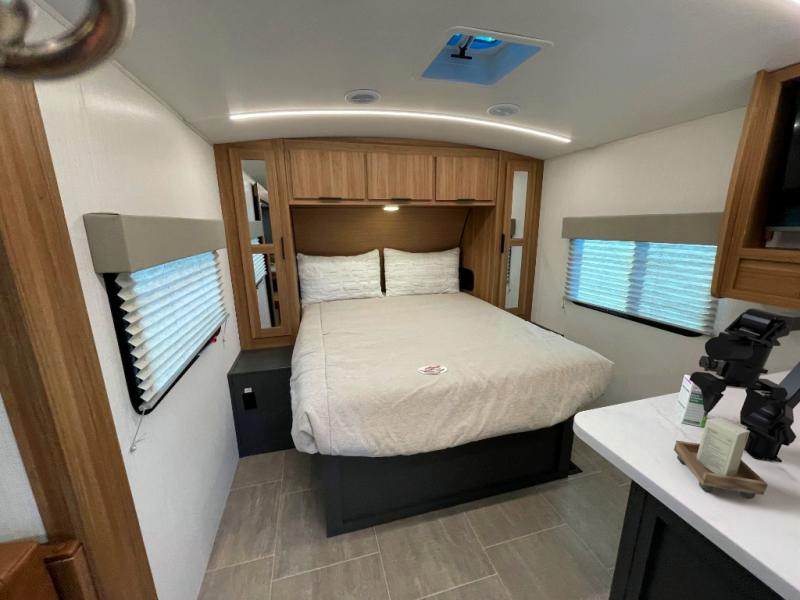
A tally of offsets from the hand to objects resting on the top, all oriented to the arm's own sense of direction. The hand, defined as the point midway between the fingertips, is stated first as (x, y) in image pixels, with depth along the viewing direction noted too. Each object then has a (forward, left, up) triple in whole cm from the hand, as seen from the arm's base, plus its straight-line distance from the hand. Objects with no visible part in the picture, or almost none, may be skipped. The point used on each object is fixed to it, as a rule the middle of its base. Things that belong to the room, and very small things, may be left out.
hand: (724, 413), depth 83 cm
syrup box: (-4, -17, -13) cm, 22 cm away
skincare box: (+6, +10, -10) cm, 15 cm away
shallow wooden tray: (+5, +9, -13) cm, 17 cm away
